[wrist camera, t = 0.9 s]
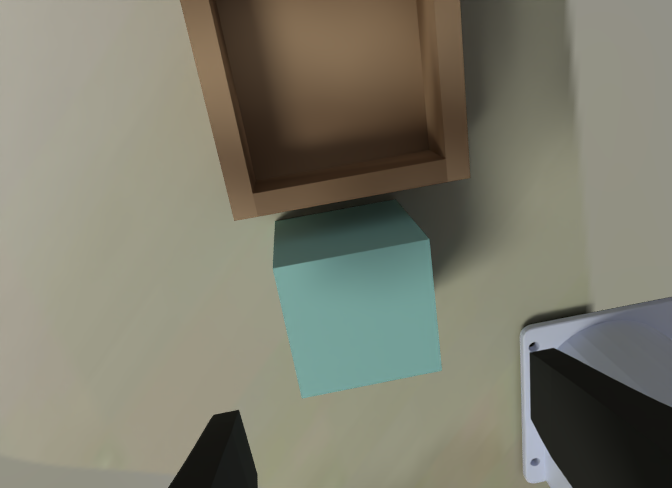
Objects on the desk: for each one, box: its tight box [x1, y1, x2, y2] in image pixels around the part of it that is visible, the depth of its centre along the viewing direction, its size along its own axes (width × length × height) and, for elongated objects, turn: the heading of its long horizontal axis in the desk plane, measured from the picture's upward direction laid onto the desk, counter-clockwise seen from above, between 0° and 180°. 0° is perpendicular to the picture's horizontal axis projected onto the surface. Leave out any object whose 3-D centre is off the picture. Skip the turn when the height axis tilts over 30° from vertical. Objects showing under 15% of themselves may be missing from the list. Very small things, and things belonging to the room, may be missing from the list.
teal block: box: [273, 200, 442, 398], centre depth 18 cm, size 5×5×5 cm
